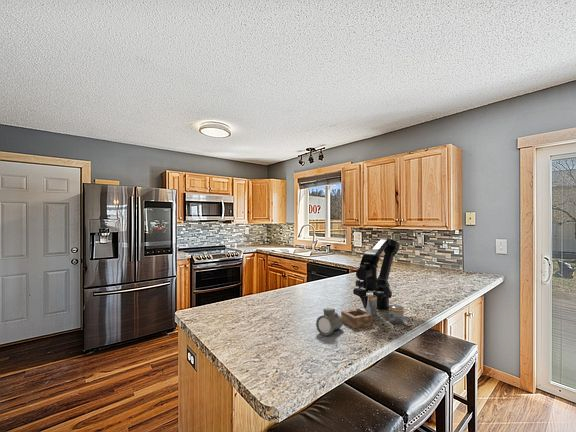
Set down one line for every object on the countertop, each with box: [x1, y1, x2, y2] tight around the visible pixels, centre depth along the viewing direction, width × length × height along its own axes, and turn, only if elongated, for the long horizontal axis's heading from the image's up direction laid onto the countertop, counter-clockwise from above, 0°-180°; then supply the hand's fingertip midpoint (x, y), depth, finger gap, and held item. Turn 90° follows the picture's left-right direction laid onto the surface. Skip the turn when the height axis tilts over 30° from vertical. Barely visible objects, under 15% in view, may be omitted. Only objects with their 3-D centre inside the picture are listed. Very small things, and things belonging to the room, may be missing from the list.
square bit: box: [364, 293, 378, 316], centre depth 142 cm, size 4×4×9 cm
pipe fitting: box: [315, 307, 344, 337], centre depth 120 cm, size 12×8×10 cm
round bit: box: [388, 304, 405, 326], centre depth 131 cm, size 7×7×7 cm
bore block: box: [340, 308, 373, 329], centre depth 130 cm, size 10×10×4 cm
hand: (371, 307), depth 142 cm, fingers open, 7 cm apart
